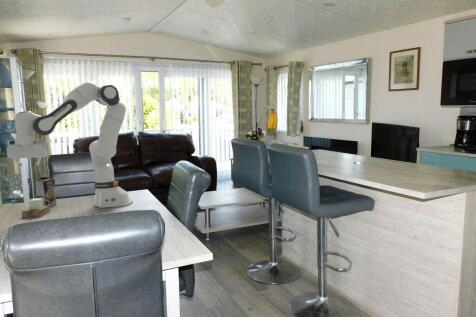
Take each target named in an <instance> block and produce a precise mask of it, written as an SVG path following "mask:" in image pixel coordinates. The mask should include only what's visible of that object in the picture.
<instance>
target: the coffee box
mask: <svg viewBox="0 0 476 317" xmlns="http://www.w3.org/2000/svg"><path fill="white" fill-rule="evenodd" d="M55 181H56V180H55V178H45V179H41V180H36V181H35V191H36V198H43V206H49V208H50V207H53V206H56V205H57V195H56V194H57V193H56V184H55V183H56V182H55ZM55 204H56V205H55Z"/></svg>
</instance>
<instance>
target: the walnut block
mask: <svg viewBox="0 0 476 317" xmlns="http://www.w3.org/2000/svg"><path fill="white" fill-rule="evenodd" d="M48 213H50V207H49V206H43V207H42V208H40V209H31V210H30V207H27V208H25V209H23V210H21V217H22V218H40V217H41V218H42V217H43V216H45V215H46V214H48Z"/></svg>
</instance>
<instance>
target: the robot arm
mask: <svg viewBox="0 0 476 317" xmlns="http://www.w3.org/2000/svg"><path fill="white" fill-rule="evenodd" d="M119 94H120V93H119V90H118V88H117V87H116V86H114V85H113V84H109V83H108V84H104V85H103V86H101V87H99V86H97V85H96V84H95V83H94V82H92V81H86V82H83V83H81V84H80V85H78V86H76V87H75V88H74V89H72V90H71V91H69V93H68V94H67V95H66V96H65V97H64V99H63V101H62V103H61V104H60V105H58V107H56V108H55V109H54V110H52V111H51V112H50V113H48V114H46V115H39V114H36V113H34V112H32V111H31V110H25V111H20V112H17V113H16V114H15V116H14V125H15V130H16V138H13V139H11V140H8V141H7V142H6V143H7V147H6V156H7V158H8V159H10V160H11V159H12V160H13V159H14V161H15V162H16V164H17V167H23V162H21V161H20V159H32V158H34V159H35V158H36V160H37V161H36V162H35V167H36V166H37V167H39V166H40V162H41V160H42V158H47V157H48V155H49V153H48V148H47V142H46V141H44V140H43V139H42V140H36V134H38V135H40V136H48V135H50V134H52V133H53V132H54V130H55V128H56V127H57V125H58V124H59V123H60V122H61V121H62V120H64V119H65V118H66V117H67V116H69V115H70V114H72V113H75V112H77V111H79V110H81V109H83V108H85V107H86V106H88V105H89V104H90V103H91V102H93V101H96V102H97V103H98V104H100V105H103V106H106V112H105V114H104V117H103V120H102V122H101V124H100V127H99V135H98V139H96V140H94V141H92V142H91V143H90V144H89V146H88V150H89V153H90V157H91V163H92V167H93V175H94V176H93V177H94V186H93V187H94V188H93V189H94V192H95V193H94V196H95V197H94V202H93V203H94V204H93V206H95V207H98V208H101V209H102V208H113V207H124V206H125V207H126V206H130V205H131V204H132V203H133V198H130V197H129V194H128V192H127V191H126V190H125V189H123V188H122V187H120V186H119V181H118V180H115V173H114V171H115V170H114V166H113V163H112V158H113V157H114V156H115V155H116V154H117V144H118V137H119V133H120V130H121V129H122V125H123V124H124V123H123V122H124V120H125V116H126V110H127V108H126V106H125V105H124V103H122V102H120V101H121V99H120V95H119Z"/></svg>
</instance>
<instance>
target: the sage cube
mask: <svg viewBox="0 0 476 317" xmlns="http://www.w3.org/2000/svg"><path fill="white" fill-rule="evenodd" d="M28 206H29V207H30V210H31V209H40V208H42V207H43V198H37V197H36V198H35V197H34V198H31V199H29V200H28ZM29 207H28V208H29Z"/></svg>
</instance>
